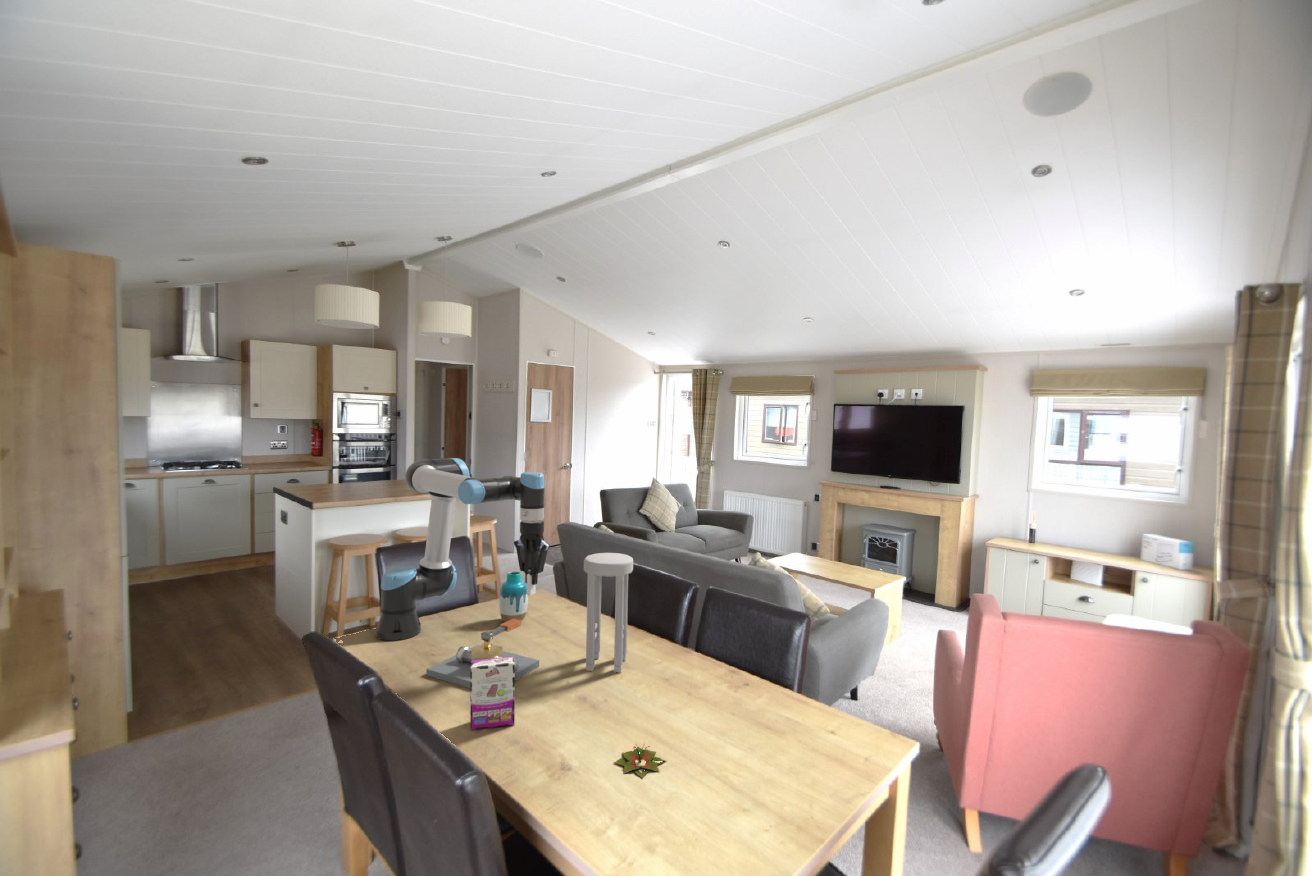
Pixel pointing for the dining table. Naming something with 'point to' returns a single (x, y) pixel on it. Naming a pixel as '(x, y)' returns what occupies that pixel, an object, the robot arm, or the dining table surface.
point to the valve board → (461, 671)
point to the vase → (513, 597)
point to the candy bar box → (492, 693)
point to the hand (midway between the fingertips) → (531, 594)
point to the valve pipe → (481, 653)
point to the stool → (595, 569)
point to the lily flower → (639, 760)
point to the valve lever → (501, 629)
